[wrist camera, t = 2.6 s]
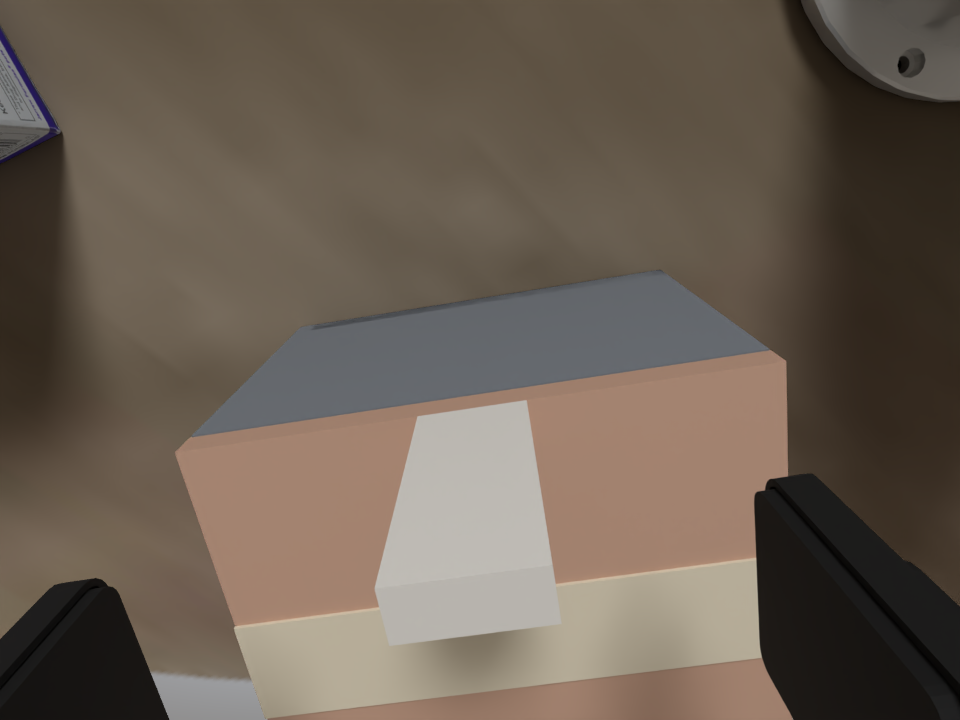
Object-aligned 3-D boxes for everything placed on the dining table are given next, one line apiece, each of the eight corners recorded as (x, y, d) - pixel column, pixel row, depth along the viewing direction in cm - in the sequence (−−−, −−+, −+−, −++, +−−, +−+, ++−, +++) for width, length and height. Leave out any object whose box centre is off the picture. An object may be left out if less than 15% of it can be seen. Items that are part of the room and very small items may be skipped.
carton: (660, 269, 24) (769, 348, 15) (682, 558, 29) (779, 763, 19) (300, 327, 25) (191, 435, 16) (372, 600, 29) (318, 815, 20)
